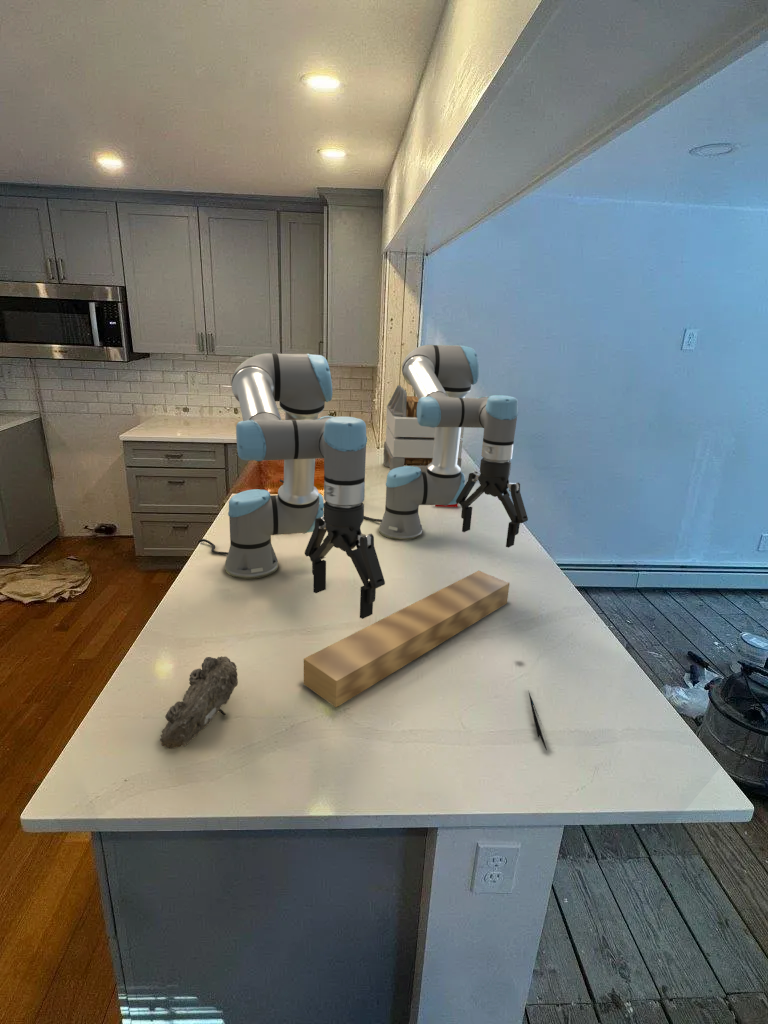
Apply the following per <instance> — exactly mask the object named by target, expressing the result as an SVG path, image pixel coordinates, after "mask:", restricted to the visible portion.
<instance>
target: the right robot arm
mask: <svg viewBox="0 0 768 1024" xmlns="http://www.w3.org/2000/svg"><path fill="white" fill-rule="evenodd" d="M479 363H480V361H479V358H478V354H477V351H476V350H475V348H473V347H471V346H466V345H465V346H464V345H455V344H454V345H451V344H450V345H449V344H443V345H442V344H424V345H421V346H418V347H416V348H414V349H413V350H411V351H410V352H409V353H408V354H407V355H406V356H405V358H404V359H403V361H402V365H401V373H402V376H403V378H404V381H405V382H406V384H407V385H410V386H411V387H412V390H413V391H414V394H415V397H417V398H418V403H417V421H418V424H419V425H420V426H426V427H432V428H433V427H435V437H434V448H433V458H432V462H431V463H430V464H428V466H426V471H422V469H421V467H420V466H407V465H404V466H402V467H397V468H394V469H392V470H391V471H390V470H388V473H387V475H386V480H385V481H386V482H385V487H386V488H385V504H384V505H385V507H384V508H385V509H384V513H383V515H382V519H381V518H374V517H369V516H366V515H364V520H366V521H370V522H375V523H379V527H378V533H379V534H380V535H381V536H382V537H385V538H387V539H389V540H395V541H410V540H415V539H418V538H420V537H421V536H422V535H423V525H422V524H421V518H420V515H419V507H420V506H435V505H445V506H446V505H454V504H458V505H460V506H461V513H460V517H461V519H462V526H461V527H462V528H461V532H462V533H466V532H469V531H471V525H472V517H473V506H472V504H473V503H474V502H475V501H476V500H477V499H479V497H480V496H481V495H483V494H485V495H487V496H488V495H490V496H491V497H494V498H497V499H498V501H500V502H501V504H502V506H503V508H504V510H505V512H506V514H507V515H508V517H509V520H510V521H509V522H508V526H507V533H506V542H505V547H506V548H510V547H512V546H514V545H515V542H516V541H515V540H516V539H515V538H516V536H518V535H519V532H520V525H521V524H523V523H525V522H527V521H528V520H529V517H528V514H527V511H526V507H525V503H524V501H523V497H522V494H521V483H520V482H510V475H511V468H512V461H511V460H512V459H513V454H514V453H513V452H514V445H515V436H516V428H517V421H518V416H519V400H518V399H517V397H515V396H510V395H504V394H503V395H502V394H494V395H493V394H492V395H490V396H484V395H481V396H477V397H466V395H467V394H469V393H470V392H471V391H472V385H473V386H474V385H476V384H477V383H478V380H479V377H480V364H479ZM461 427H464V428H472V429H473V428H476V429H478V428H479V429H483V437H482V447H481V457H482V458H481V459H480V463H479V464H480V466H479V472H478V471H473V472H469V474H468V476H467V477H468V478H467V481H466V477H465V474H464V472H462V467H461V468H460V467H459V466H458V465H457V461H458V452H459V444H460V439H461V438H460V435H461ZM479 473H480V474H479ZM278 481H279V482H280V483H282V484H284V479H279V480H278ZM477 482H478V483H479V486H478V487H477V488H476V489H475V491H474V492H472V490H473V488H474V487H475V485H476V484H477ZM471 492H472V493H471ZM509 492H510V493H509ZM470 493H471V494H470Z"/></svg>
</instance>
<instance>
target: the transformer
mask: <svg viewBox="0 0 768 1024" xmlns="http://www.w3.org/2000/svg"><path fill="white" fill-rule="evenodd" d="M407 394H408V393H407V390H406V389H404V388H403V387H402V385H399V384H398V385H397V386H396V388H395V390H394V392H393V394H392V395H391V398H390V400H389V402H388V404H387V405H386V413H385V414H386V415H385V423H386V428H385V438H384V442H383V466H384V467H388V468H389V471H391V470H392V469H394V468H397V467H402V466H412V467H413V466H415V467H427V466H428V464H430V463H431V462H432V458H433V448H434V437H435V427H433V428H432V427H426V426H420V425H419V424H418V421H417V403H418V398H417V396H416V395H414V396H413V395H412V396H411V395H407ZM464 429H465V427H461V435H460V444H459V452H458V461H457V465H458V466H459V467H460V468H461V469H462V461H463V460H462V453H463V442H464V441H463V440H462V439H463V438H464V431H465V430H464Z"/></svg>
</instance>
